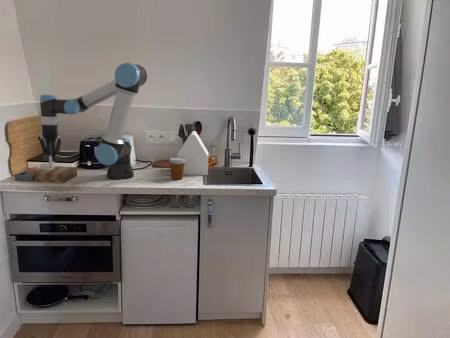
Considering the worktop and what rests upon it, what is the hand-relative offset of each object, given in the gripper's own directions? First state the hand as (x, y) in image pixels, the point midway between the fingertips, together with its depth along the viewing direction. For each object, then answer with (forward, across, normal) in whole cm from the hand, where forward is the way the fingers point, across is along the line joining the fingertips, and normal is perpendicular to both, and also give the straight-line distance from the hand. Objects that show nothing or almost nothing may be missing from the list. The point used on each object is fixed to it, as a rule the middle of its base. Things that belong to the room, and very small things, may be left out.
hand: (52, 167), depth 193 cm
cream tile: (+1, +3, 0) cm, 3 cm away
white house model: (+6, -74, -31) cm, 81 cm away
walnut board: (+6, -2, 0) cm, 7 cm away
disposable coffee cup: (+6, -67, -12) cm, 69 cm away
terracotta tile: (+3, +9, 0) cm, 9 cm away
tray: (+7, +11, 0) cm, 13 cm away
